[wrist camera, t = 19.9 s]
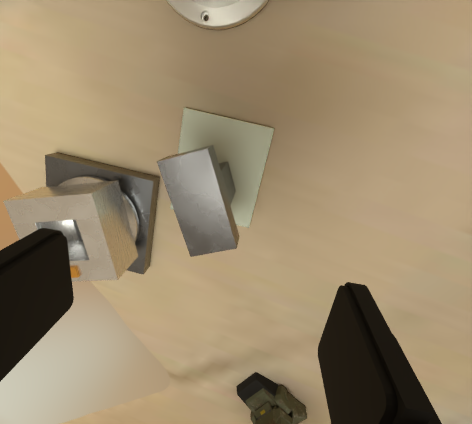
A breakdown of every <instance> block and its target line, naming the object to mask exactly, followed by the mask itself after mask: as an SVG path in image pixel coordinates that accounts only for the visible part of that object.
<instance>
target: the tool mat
mask: <svg viewBox="0 0 472 424" xmlns="http://www.w3.org/2000/svg"><path fill="white" fill-rule="evenodd" d="M273 132H274V128H271V127H266V126H262V125H258V124H254V123H249V122H245V121H241V120H236V119H232V118H228V117H223V116H219V115H215V114H211V113H206V112H202V111H198V110H193V109H189V108H184V111H183V119H182V126H181V134H180V141H179V148H178V154H179V153H183V152H187V151H191V150H195V149H199V148H202V147H206V146H210V145H214V149H215V152H216V156H217V159H218V163H223V162H227V161H228V163H229V167H230V170H231V174H232V178H233V181H234V185H235V189H236V192H235V195H234V198H233V200H232V203H231V209H232V213H233V216H234V220H235V223H236V225H239V226H243V227H247V228H249V226H250V222H251V218H252V214H253V210H254V206H255V202H256V198H257V194H258V191H259V187H260V183H261V179H262V175H263V171H264V167H265V163H266V159H267V155H268V151H269V148H270V144H271V140H272V136H273ZM170 209H173V210H174V208H173V206H172V203H171V208H170Z"/></svg>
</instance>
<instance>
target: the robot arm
mask: <svg viewBox="0 0 472 424" xmlns="http://www.w3.org/2000/svg"><path fill="white" fill-rule="evenodd" d="M166 1H167V2H168V4H169V5H170V6H171V7H172V8H173V9H174V10H175V11H176V12H177V13H178V14H179V15H181V16H182V17H183V18H184V19H185V20H187V21H189V22H191V23H193V24H195V25H196V26H200V27H203V28H207V29H218V30H221V29H227V28H233V27H235V26H238V25H240V24H242V23H245V22H246V21H248V20H249V19H251V18H252V17H254V16H255V15H256V14H257V13H258V12H259V11H260V10H261V9H262V8H263V7H264V6H265V5H266V4H267V2H268V1H269V0H166ZM206 16H208V17H209V20H208V21H205V20H204V19H205V17H206ZM72 303H73V288H72V279H71V269H70V260H69V251H68V242H67V238H66V236H64V235H63V233H62V232H61V231H60V230H54V229H48V228H40V229H38V230H36V231H34V232H33V233H31V234H29V235H27V236H25V237H24V238H22V239H20V240H19V241H17V242H15V243H13V244H11V245H9V246H8V247H6V248H4V249H2V250H1V251H0V381H1V380H2V379H3V378H4V377H5V376H6V375H7V374H8V373H9V372H10V371H11V370H12V369H13V368H14V367H15V365H16V364H17V363H18V362H19V361H20V360H21V359H22V358H23V357H24V356H25V355H26V354H27V353H28V352H29V351H30V350H31V349H32V348H33V347H34V346H35V344H36V343H37V342H38V341H39V340H40V339H41V338H42V337H43V336H44V335H45V334H46V333H47V332H48V331H49V330H50V329H51V328H52V326H53V325H54V324H55V323H56V322H57V321H58V320H59V319H60V318H61V317H62V316H63V315H64V314H65V313H66V312H67V311H68V310H69V309H70V307H71V305H72ZM318 358H319V363H320V368H321V373H322V378H323V384H324V389H325V394H326V399H327V404H328V409H329V414H330V419H331V424H442V423H441V421H440V420H439V418H438V416H437V414H436V412H435V410H434V408H433V407H432V405H431V403H430V401H429V399H428V397H427V395H426V394H425V392H424V390H423V388H422V386H421V384H420V382H419V381H418V379H417V377H416V375H415V373H414V371H413V369H412V367H411V366H410V364H409V362H408V360H407V358H406V356H405V354H404V353H403V351H402V349H401V347H400V345H399V343H398V341H397V340H396V338H395V337H394V335H393V334H392V333H391V331H390V329H389V327H388V325H387V323H386V321H385V320H384V318H383V316H382V314H381V312H380V310H379V308H378V306H377V305H376V303H375V301H374V299H373V297H372V295H371V293H370V291H369V289H368V288H367V286H365V285H361V284H355V283H350V282H347V283H346V284H345V285H344V286H340V287H339V288H338V291H337V294H336V297H335V300H334V302H333V305H332V308H331V311H330V314H329V317H328V320H327V323H326V325H325V328H324V331H323V334H322V337H321V340H320V343H319V346H318Z"/></svg>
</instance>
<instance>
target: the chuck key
mask: <svg viewBox="0 0 472 424" xmlns="http://www.w3.org/2000/svg"><path fill="white" fill-rule="evenodd" d="M157 163H158V166H159V169H160V172H161V175H162V177H163V180H164V183H165V186H166V189H167V192H168V194H169V197H170V200H171V203H172V206H173V208H174V211H175V214H176V217H177V220H178V223H179V225H180V228H181V231H182V234H183V237H184V239H185V242H186V245H187V248H188V251H189V254H190V256H191V257H192V256H197V255H203V254H208V253H214V252H219V251H225V250H230V249H236V248H237V244H238V240H239V234H238V230H237V227H236V223H235V220H234V216H233V213H232V209H231V203H232V200H233V198H234V195H235V192H236V189H235V185H234V181H233V178H232V174H231V170H230V167H229V163H228V161H227V162H223V163H218V159H217V156H216V152H215V149H214V145H210V146H206V147H202V148H199V149H195V150H191V151H187V152H183V153H179V154H176V155H172V156H168V157H165V158H163V159H161V160H159V161H157Z"/></svg>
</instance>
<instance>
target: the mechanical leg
mask: <svg viewBox="0 0 472 424" xmlns="http://www.w3.org/2000/svg"><path fill="white" fill-rule="evenodd" d="M237 395H238V396H239V397H240V398H241V399H242V400H243V402H244V403H245V404H246V405H247V406H248V407H249V408H250V410H251V420H252V422H253V424H298V423H300V422H302V421H303V420H305V419H306V418H307V413H306V409H305V406H304V405H303V404H301V403H300V402H299V401H297V400H296V399H295V398H293V396H292V395H291V394H289V393H287V389H286V388H284V387H283V386H278V385H277V384H276V383H274V382H272V381H270V380H269V379H267V378H265V377H264V376H262V375H260V374H259V373H256V372H255V373H254V374H253V375H251V376H250V377H249V378H247V379H246V380H245V381H243V382H242V383H241V384H239V385H238V386H237Z"/></svg>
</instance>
